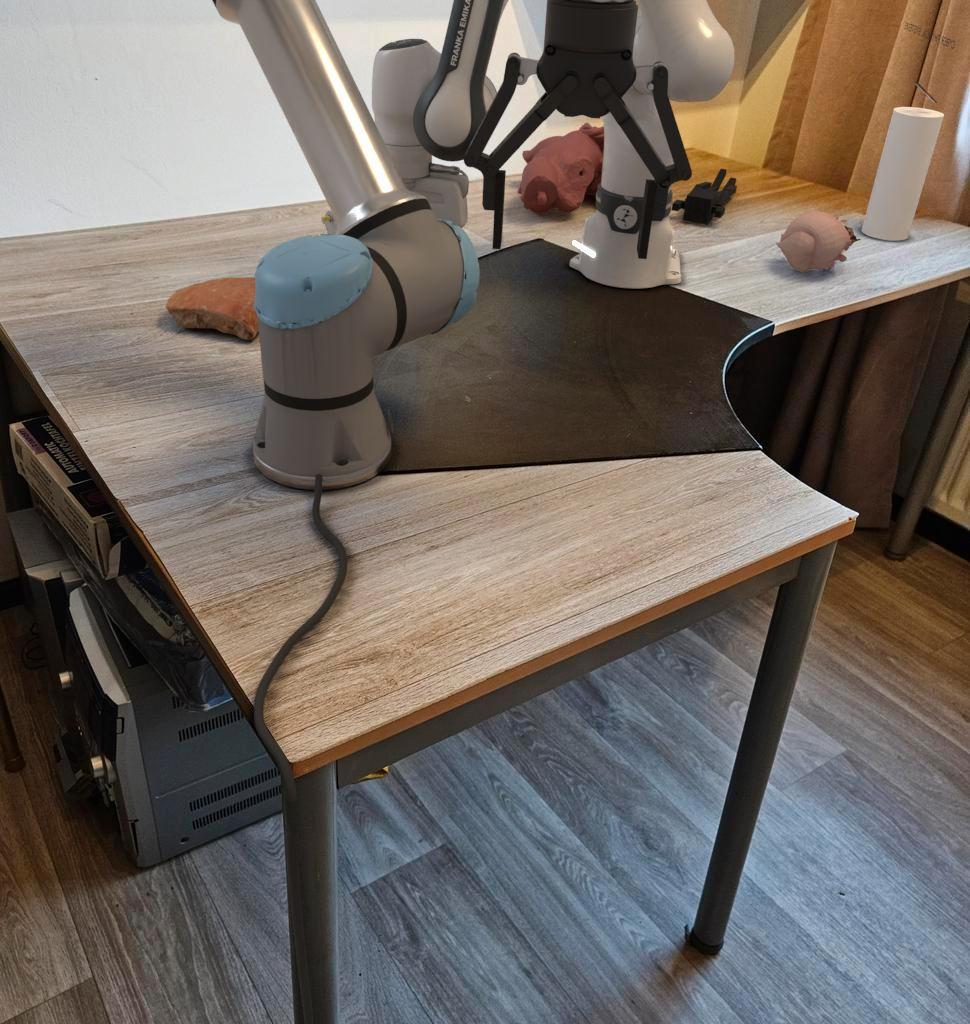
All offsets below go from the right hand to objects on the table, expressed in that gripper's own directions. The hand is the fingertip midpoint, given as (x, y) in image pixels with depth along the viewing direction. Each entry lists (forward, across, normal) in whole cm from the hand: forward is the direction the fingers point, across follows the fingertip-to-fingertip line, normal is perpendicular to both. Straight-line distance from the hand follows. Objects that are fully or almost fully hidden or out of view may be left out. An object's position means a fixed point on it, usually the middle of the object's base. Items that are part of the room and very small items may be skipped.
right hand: (402, 251), depth 150 cm
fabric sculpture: (+4, -17, -53) cm, 56 cm away
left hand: (-21, -36, +51) cm, 65 cm away
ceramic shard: (+5, +18, +23) cm, 30 cm away
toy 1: (+4, -43, -64) cm, 77 cm away
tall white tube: (+4, -76, -59) cm, 96 cm away
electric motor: (+5, +18, -14) cm, 23 cm away
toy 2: (+5, -62, -33) cm, 71 cm away
